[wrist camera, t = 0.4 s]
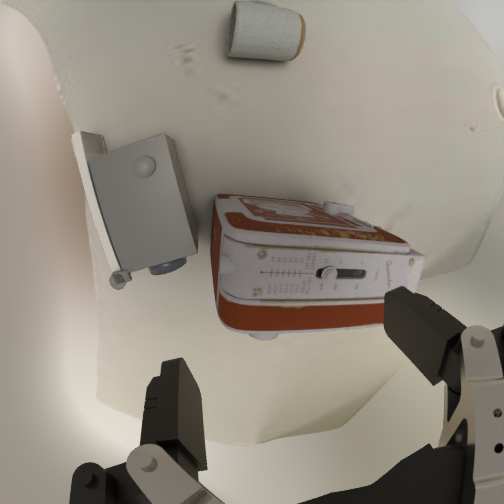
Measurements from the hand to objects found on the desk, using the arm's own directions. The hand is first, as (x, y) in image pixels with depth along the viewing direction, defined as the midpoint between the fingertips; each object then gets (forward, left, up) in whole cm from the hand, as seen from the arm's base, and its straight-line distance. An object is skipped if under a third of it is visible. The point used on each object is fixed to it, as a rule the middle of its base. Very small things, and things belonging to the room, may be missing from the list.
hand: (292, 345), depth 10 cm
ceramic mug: (-23, +9, -27) cm, 36 cm away
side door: (-6, -13, -26) cm, 30 cm away
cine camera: (+3, +7, -27) cm, 28 cm away
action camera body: (-4, -9, -26) cm, 28 cm away
